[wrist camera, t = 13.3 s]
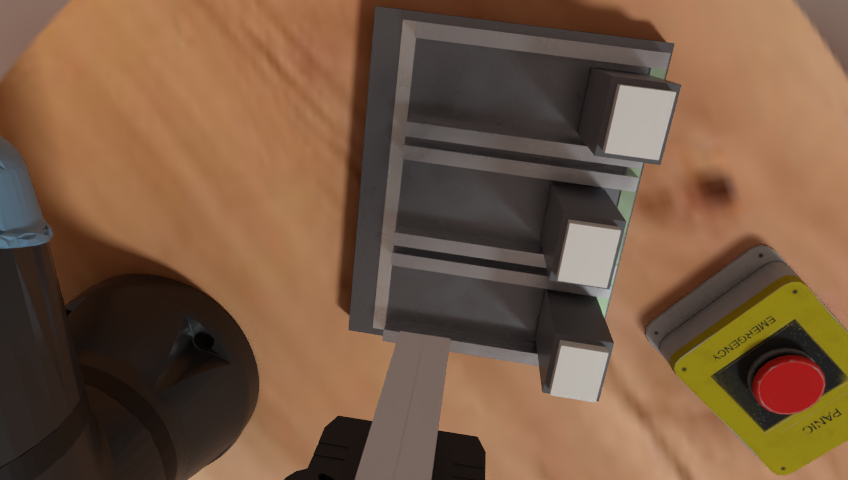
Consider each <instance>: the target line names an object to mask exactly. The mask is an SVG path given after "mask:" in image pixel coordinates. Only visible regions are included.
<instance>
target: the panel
mask: <svg viewBox="0 0 848 480" xmlns="http://www.w3.org/2000/svg"><path fill="white" fill-rule="evenodd" d="M674 44H675V43H668V42H660V41H652V40H643V39H635V38H627V37H619V36H611V35H603V34H595V33H587V32H579V31H571V30H563V29H555V28H547V27H539V26H531V25H523V24H515V23H507V22H499V21H491V20H483V19H475V18H467V17H459V16H450V15H442V14H434V13H426V12H418V11H410V10H402V9H394V8H386V7H378V6H375V14H374V26H373V38H372V50H371V62H370V75H369V87H368V99H367V111H366V123H365V135H364V148H363V160H362V172H361V184H360V196H359V209H358V221H357V233H356V245H355V257H354V269H353V282H352V294H351V306H350V318H349V330H351V331H358V332H364V333H370V334H376V335H382V336H383V340H382V341H387V342H394V343H397V339H398V336H399V333H400V331H404V332H410V333H417V334H424V335H430V336H437V337H443V338H450V346H449V352H456V353H462V354H468V355H474V356H481V357H487V358H493V359H499V360H505V361H512V362H518V363H524V364H530V365H536V366H539V362H538V354H537V347H536V339H535V337H536V332H537V327H538V323H539V318H540V313H541V308H542V303H543V299H544V294H545V289H550V290H557V291H563V292H570V293H577V294H583V295H590V296H596V297H597V300H598V302H599V305H600V308H601V310H602V313H603V316H604V318H606V314H607V310H608V306H609V302H610V298H611V294H612V290H613V286H614V282H615V278H616V274H617V270H618V266H619V262H620V258H621V254H622V251H623V247H624V243H625V239H626V235H627V231H628V227H629V223H630V219H631V215H632V211H633V207H634V203H635V199H636V195H637V191H638V187H639V183H640V179H641V175H642V171H643V167H644V163H643V162H636V161H628V160H621V159H614V158H606V157H599V156H594V154H593V153H592V152H591V151H590V149H589V148H588V147H587V145H586V144H585V143H584V141H583V140H582V139H581V138H580V136H579V135H578V130H579V125H580V120H581V116H582V111H583V106H584V101H585V96H586V92H587V87H588V82H589V77H590V72H591V68H592V67H594V68H602V69H609V70H617V71H625V72H633V73H641V74H648V75H651V76H655V77H658V78H661V79H664V80H665V79H666V75H667V72H668V68H669V64H670V60H671V56H672V52H673V48H674ZM552 182H556V183H563V184H570V185H577V186H584V187H592V188H599V189H605V191H606V192H607V194H608V195H609V196H610V198H611V199H612V201H613V202H614V204H615V205H616V207H617V208H618V210H619V211H620V213H621V214H622V216H623V217H624V219H625V220H626V225H625V229H624V233H623V237H622V241H621V245H620V249H619V253H618V257H617V261H616V265H615V269H614V273H613V277H612V281H611V286H610V290H609V289H602V288H596V287H589V286H582V285H576V284H569V283H563V282H556V281H549V277H548V272H547V268H546V263H545V258H544V254H543V249H542V244H541V236H542V231H543V226H544V221H545V215H546V210H547V205H548V200H549V195H550V190H551V185H552Z"/></svg>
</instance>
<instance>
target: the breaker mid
mask: <svg viewBox="0 0 848 480" xmlns="http://www.w3.org/2000/svg"><path fill="white" fill-rule="evenodd" d="M625 225H626V220H625V219H624V217H623V216H622V214H621V213H620V211H619V210H618V208H617V207H616V205H615V204H614V202H613V201H612V199H611V198H610V196H609V195H608V194H607V192H606V191H605V189H599V188H592V187H584V186H577V185H570V184H563V183H556V182H552V185H551V190H550V195H549V200H548V205H547V210H546V215H545V221H544V226H543V231H542V236H541V244H542V249H543V254H544V258H545V263H546V268H547V272H548V277H549V281H556V282H563V283H569V284H576V285H582V286H589V287H596V288H602V289H609V290H610V286H611V281H612V277H613V273H614V269H615V265H616V261H617V257H618V253H619V249H620V245H621V241H622V237H623V233H624V229H625Z"/></svg>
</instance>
